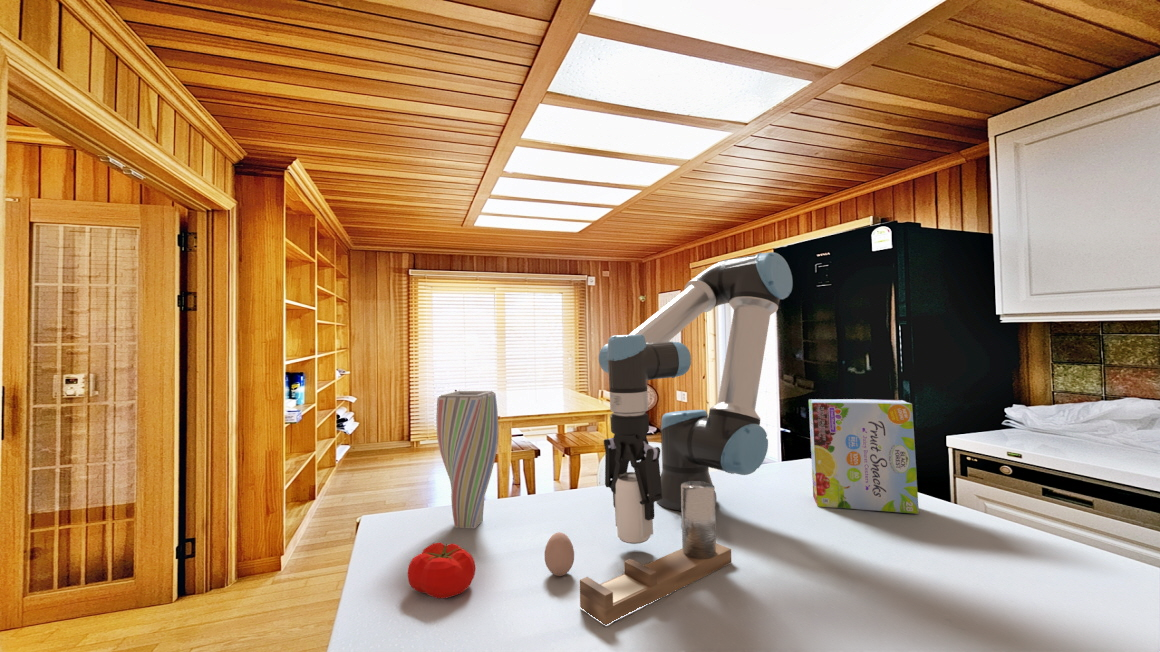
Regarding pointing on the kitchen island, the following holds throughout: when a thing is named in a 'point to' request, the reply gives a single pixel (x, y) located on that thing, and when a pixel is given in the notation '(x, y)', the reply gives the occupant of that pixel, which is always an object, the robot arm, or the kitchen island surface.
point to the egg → (559, 554)
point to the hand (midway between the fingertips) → (634, 529)
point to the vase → (468, 449)
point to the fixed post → (698, 520)
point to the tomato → (441, 570)
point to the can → (628, 509)
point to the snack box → (863, 454)
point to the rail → (646, 583)
